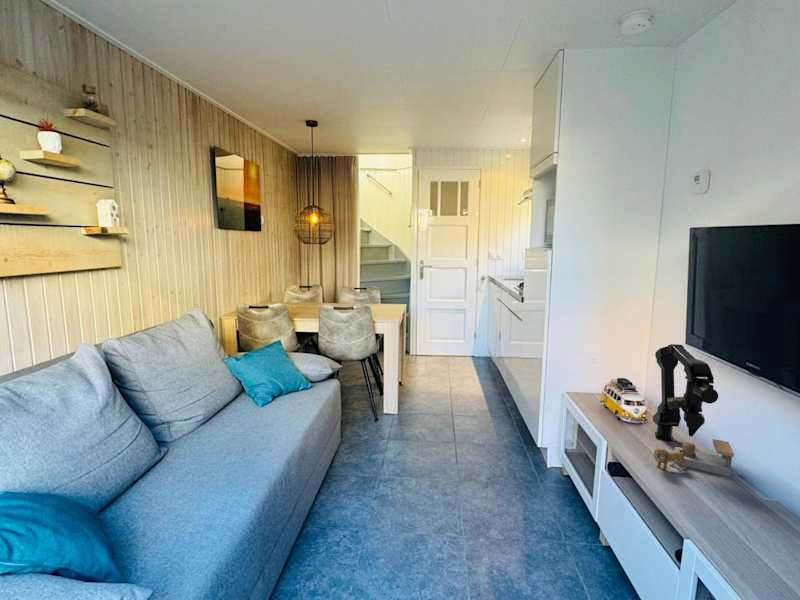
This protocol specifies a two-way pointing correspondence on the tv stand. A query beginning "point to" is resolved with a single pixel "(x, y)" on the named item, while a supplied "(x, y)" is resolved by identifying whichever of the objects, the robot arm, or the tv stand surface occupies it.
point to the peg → (688, 449)
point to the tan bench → (724, 451)
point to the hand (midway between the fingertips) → (689, 431)
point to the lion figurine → (668, 458)
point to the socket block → (706, 462)
